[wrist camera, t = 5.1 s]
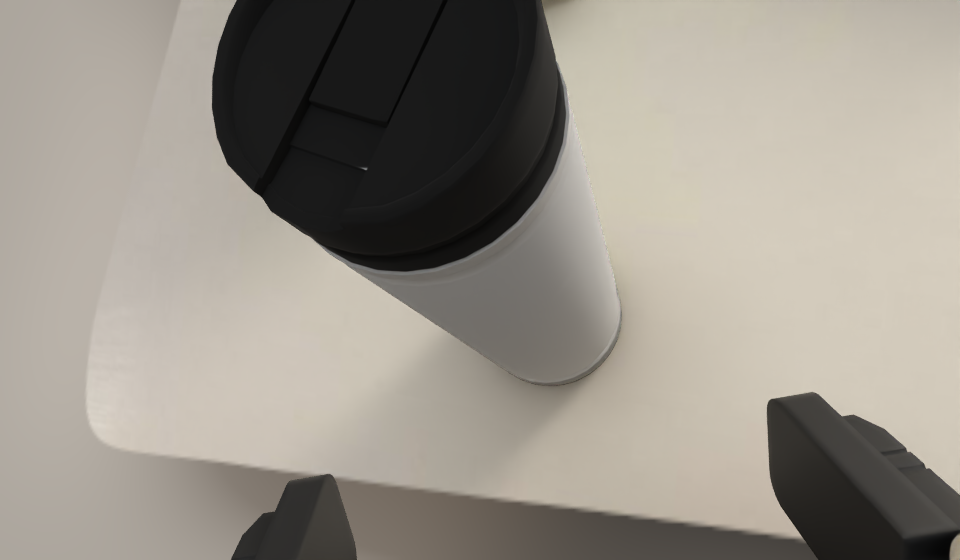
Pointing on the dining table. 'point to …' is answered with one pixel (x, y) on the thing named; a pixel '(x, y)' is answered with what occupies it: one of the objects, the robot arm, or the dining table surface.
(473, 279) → the travel mug
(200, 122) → the dining table surface
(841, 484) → the robot arm
